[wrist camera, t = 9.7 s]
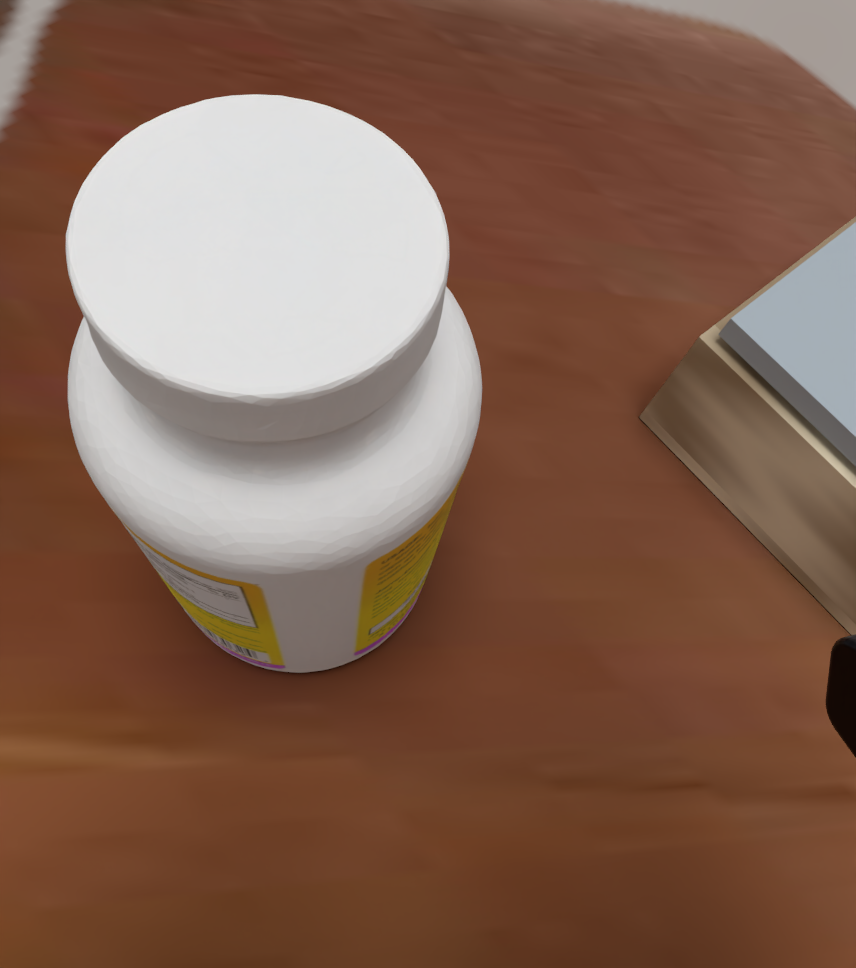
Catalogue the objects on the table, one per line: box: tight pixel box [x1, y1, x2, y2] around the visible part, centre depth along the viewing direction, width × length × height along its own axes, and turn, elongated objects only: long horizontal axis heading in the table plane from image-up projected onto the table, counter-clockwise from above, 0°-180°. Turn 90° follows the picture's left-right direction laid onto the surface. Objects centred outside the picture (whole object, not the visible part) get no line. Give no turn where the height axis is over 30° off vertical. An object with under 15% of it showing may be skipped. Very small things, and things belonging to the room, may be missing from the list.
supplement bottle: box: [66, 95, 482, 673], centre depth 16 cm, size 7×7×13 cm
